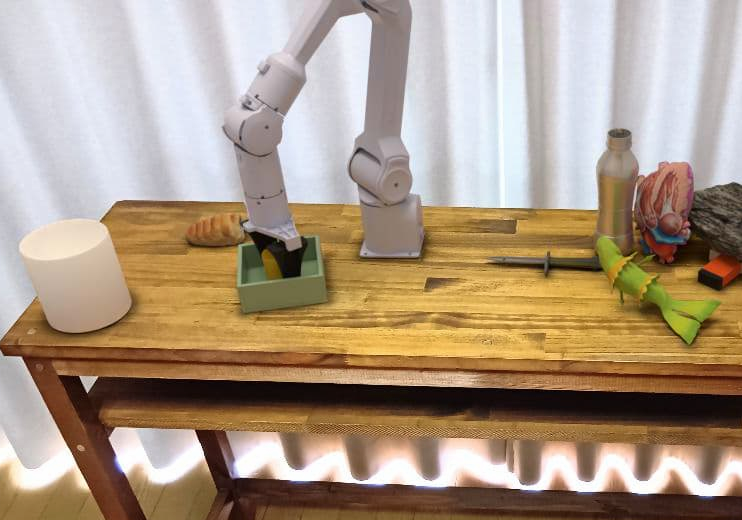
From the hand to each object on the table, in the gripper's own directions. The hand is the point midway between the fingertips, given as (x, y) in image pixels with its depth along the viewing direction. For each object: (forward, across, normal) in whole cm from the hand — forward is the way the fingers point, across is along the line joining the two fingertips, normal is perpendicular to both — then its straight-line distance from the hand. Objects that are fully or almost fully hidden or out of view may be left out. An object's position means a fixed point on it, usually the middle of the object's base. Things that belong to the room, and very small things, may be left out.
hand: (282, 272), depth 135 cm
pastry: (+3, -20, -2) cm, 20 cm away
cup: (+2, -12, -26) cm, 28 cm away
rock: (-7, +30, +59) cm, 66 cm away
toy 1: (-4, +45, +35) cm, 57 cm away
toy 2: (+2, +40, +49) cm, 63 cm away
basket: (+2, 0, 0) cm, 2 cm away
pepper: (+2, 0, 0) cm, 2 cm away
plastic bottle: (+3, +24, +45) cm, 51 cm away
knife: (+2, +19, +35) cm, 40 cm away
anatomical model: (-11, +26, +53) cm, 60 cm away
